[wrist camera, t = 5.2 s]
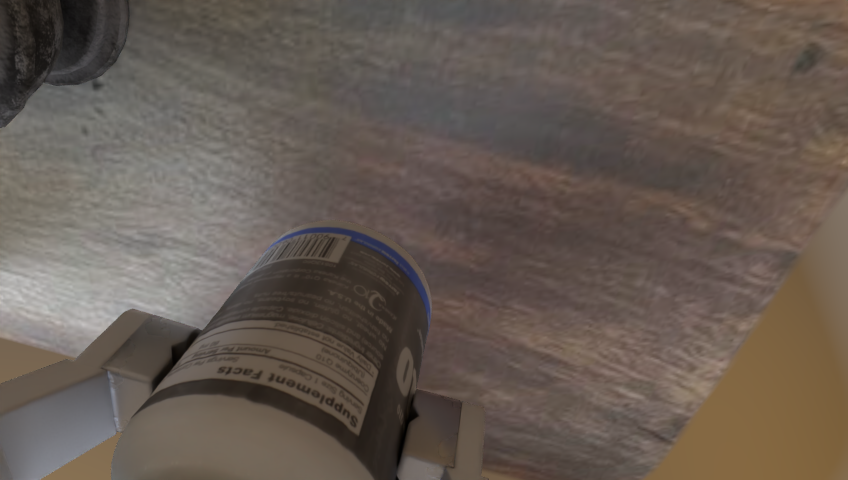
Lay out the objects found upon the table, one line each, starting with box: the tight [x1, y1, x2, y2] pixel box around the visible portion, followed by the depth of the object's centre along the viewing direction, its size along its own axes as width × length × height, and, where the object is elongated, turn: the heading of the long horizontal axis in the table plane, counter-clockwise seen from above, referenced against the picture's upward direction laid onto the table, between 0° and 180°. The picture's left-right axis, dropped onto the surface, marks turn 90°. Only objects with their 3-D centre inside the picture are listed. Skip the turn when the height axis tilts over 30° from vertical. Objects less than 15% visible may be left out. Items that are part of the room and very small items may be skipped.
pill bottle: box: [111, 220, 432, 480], centre depth 10 cm, size 5×5×8 cm
